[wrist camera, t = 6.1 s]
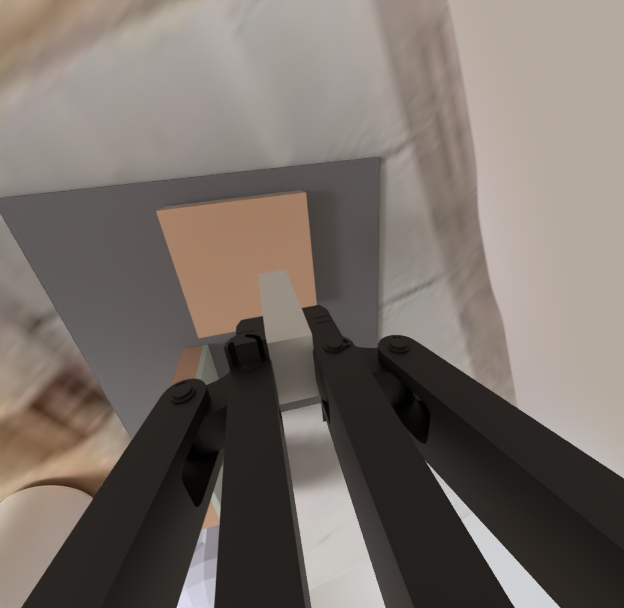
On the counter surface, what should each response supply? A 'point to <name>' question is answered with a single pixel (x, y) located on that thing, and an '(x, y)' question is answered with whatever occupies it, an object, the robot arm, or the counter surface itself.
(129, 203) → the mat
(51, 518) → the beverage can
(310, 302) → the tile
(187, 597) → the soap bottle
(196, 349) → the tile
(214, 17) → the counter surface
